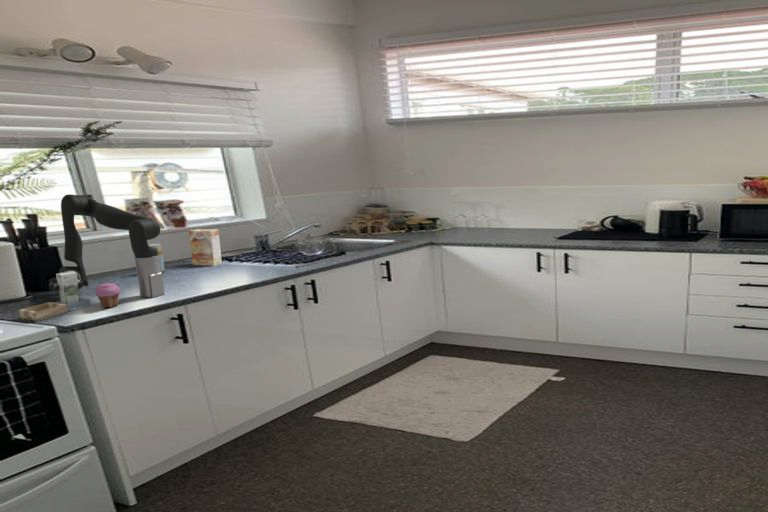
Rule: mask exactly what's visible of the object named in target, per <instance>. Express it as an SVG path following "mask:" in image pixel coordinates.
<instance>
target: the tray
mask: <svg viewBox="0 0 768 512" xmlns="http://www.w3.org/2000/svg"><path fill="white" fill-rule="evenodd" d="M17 311H18V316H19V320H24V319H26V320H25V321H30V320H33V321H32V322H35V321H38V322H40V321H39V320H42V321H44V320H43V319H45V320H48V319H47V318H49V319H51V318H50V317H52V318H55V317H54V316H56V317H58V316H57V315H60V314H63V313H67V312H68V313H69V311H67V305H66V304H59V303H54V302H52V301H48V302H44V303H39V304H36V305H32V306H28V307H24V308H20V309H18V310H17ZM68 313H67V314H68ZM63 315H64V314H63ZM60 316H61V315H60Z"/></svg>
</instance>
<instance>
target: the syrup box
mask: <svg viewBox="0 0 768 512" xmlns="http://www.w3.org/2000/svg"><path fill="white" fill-rule="evenodd" d="M55 275H56V277H55V278H56V281H57V283H58V289H59V291H58V295H59V301H60V302H61V304H66V305H68V304H72V303H75V302H79V301H81V300H80V298H81V294H80V289H79V288H78V280H77V273H76V272H74V271H68V272H62V273H59V272H58V273H55ZM57 283H56V284H57Z"/></svg>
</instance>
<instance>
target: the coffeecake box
mask: <svg viewBox="0 0 768 512" xmlns="http://www.w3.org/2000/svg"><path fill="white" fill-rule="evenodd" d="M188 233H189V234H188V235H189V242H190V251H191V260H192V265H193V266H205V267H207V266H209V267H215V266H218V265H222V264H223V263H222V262H223V261H222V252H221V244H220V243H221V242H220V241H221V240H220V234H219V229H208V228H207V229H205V228H203V229H201V228H200V229H199V228H198V229H197V228H196V229H191V230H188Z"/></svg>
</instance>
